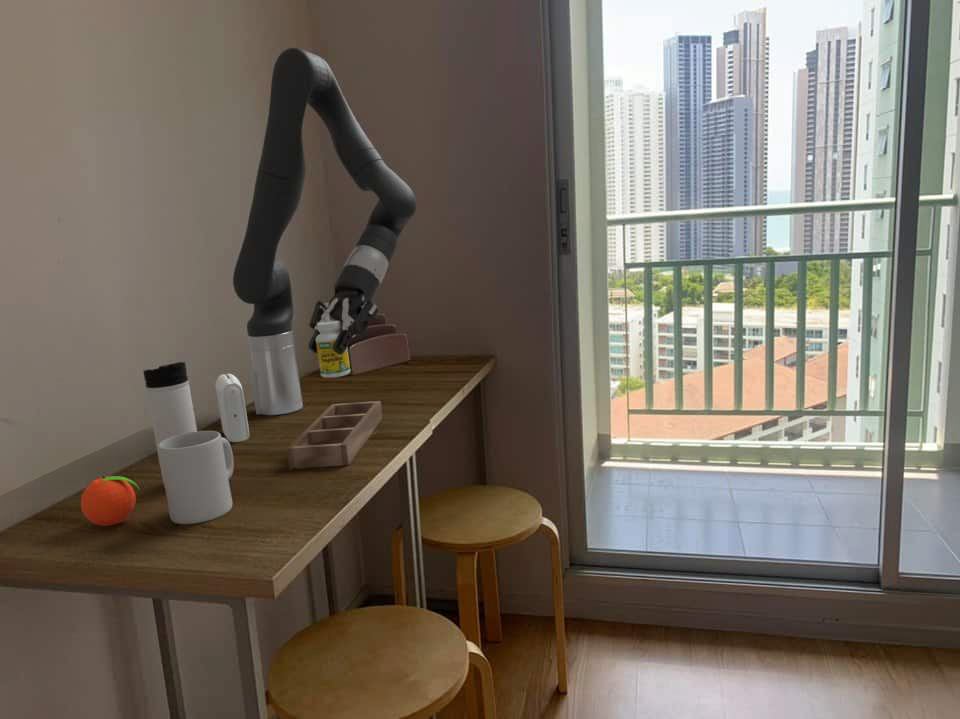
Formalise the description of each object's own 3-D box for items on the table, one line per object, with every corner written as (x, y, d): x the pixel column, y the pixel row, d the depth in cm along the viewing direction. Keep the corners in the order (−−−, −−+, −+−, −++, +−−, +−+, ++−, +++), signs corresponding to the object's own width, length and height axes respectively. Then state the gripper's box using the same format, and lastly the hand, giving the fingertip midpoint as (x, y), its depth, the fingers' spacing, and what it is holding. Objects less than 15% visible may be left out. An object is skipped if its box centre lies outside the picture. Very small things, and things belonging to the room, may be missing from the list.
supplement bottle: (351, 370, 136) (345, 318, 134) (349, 376, 131) (342, 322, 129) (322, 373, 136) (315, 321, 134) (318, 379, 130) (311, 325, 128)
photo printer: (252, 439, 141) (242, 376, 139) (229, 444, 139) (218, 380, 137) (243, 427, 150) (233, 368, 148) (221, 432, 148) (211, 372, 146)
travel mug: (181, 493, 115) (159, 367, 111) (155, 487, 118) (133, 366, 114) (214, 479, 120) (194, 359, 116) (189, 474, 123) (168, 357, 120)
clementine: (153, 510, 109) (145, 464, 107) (138, 529, 102) (128, 480, 100) (97, 517, 108) (87, 471, 106) (77, 537, 101) (67, 488, 100)
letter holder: (331, 373, 199) (324, 321, 196) (388, 358, 213) (383, 310, 210) (352, 376, 192) (346, 323, 189) (410, 361, 206) (405, 311, 203)
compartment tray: (289, 468, 122) (286, 448, 121) (333, 421, 149) (331, 404, 148) (348, 465, 121) (346, 444, 120) (382, 417, 148) (380, 400, 148)
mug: (206, 526, 101) (193, 449, 99) (157, 522, 104) (143, 448, 101) (259, 493, 112) (248, 423, 110) (213, 490, 115) (202, 423, 112)
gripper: (322, 264, 139) (283, 338, 132) (380, 261, 131) (342, 340, 124) (345, 288, 145) (309, 361, 137) (402, 287, 137) (367, 364, 129)
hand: (325, 351), depth 131 cm, fingers closed on supplement bottle, 5 cm apart
